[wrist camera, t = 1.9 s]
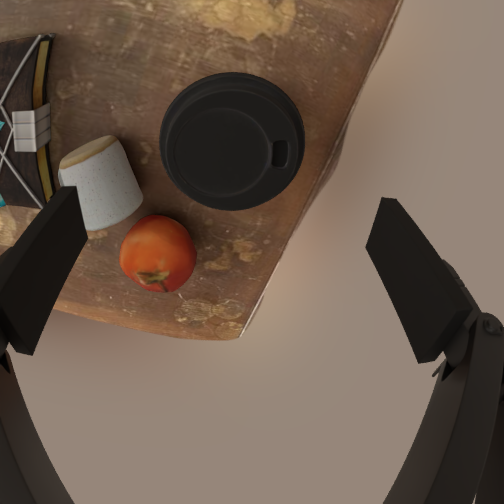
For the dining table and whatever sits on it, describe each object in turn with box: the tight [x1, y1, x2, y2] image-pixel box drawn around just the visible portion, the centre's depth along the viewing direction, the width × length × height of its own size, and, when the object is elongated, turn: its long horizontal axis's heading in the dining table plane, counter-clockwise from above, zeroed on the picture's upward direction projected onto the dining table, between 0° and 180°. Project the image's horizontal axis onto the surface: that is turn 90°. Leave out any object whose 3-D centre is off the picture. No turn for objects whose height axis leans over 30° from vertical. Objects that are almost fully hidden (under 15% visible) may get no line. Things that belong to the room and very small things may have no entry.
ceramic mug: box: [58, 135, 143, 231], centre depth 30 cm, size 11×8×8 cm
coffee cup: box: [159, 72, 305, 211], centre depth 24 cm, size 9×9×15 cm
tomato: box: [119, 215, 197, 293], centre depth 37 cm, size 9×9×8 cm
